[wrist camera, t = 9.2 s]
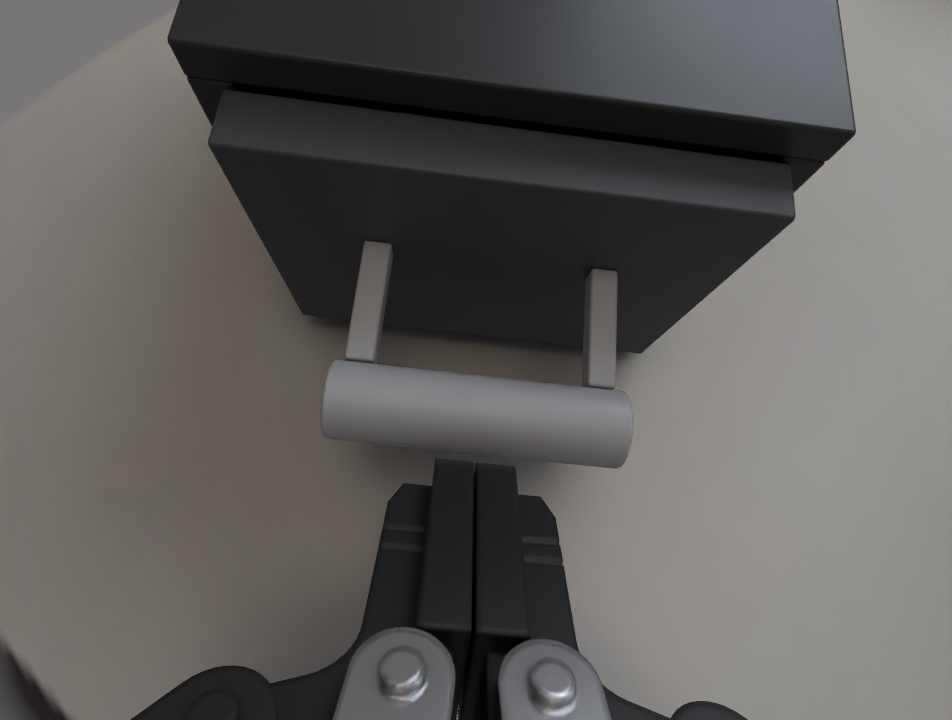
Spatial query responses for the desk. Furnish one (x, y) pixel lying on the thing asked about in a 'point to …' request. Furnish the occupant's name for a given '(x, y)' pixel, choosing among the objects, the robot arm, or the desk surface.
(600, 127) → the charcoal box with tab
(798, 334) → the desk surface
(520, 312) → the drawer
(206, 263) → the desk surface
